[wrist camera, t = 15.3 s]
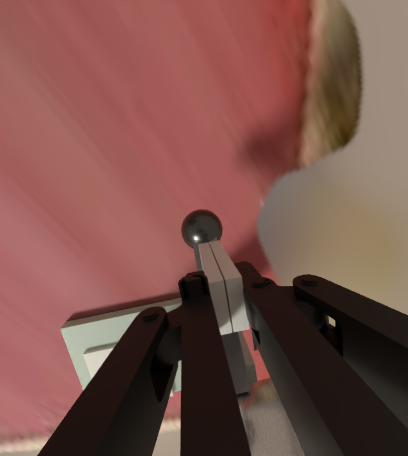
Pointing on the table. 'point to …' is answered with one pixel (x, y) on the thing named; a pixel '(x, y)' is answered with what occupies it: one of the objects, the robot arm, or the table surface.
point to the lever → (245, 391)
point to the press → (110, 335)
